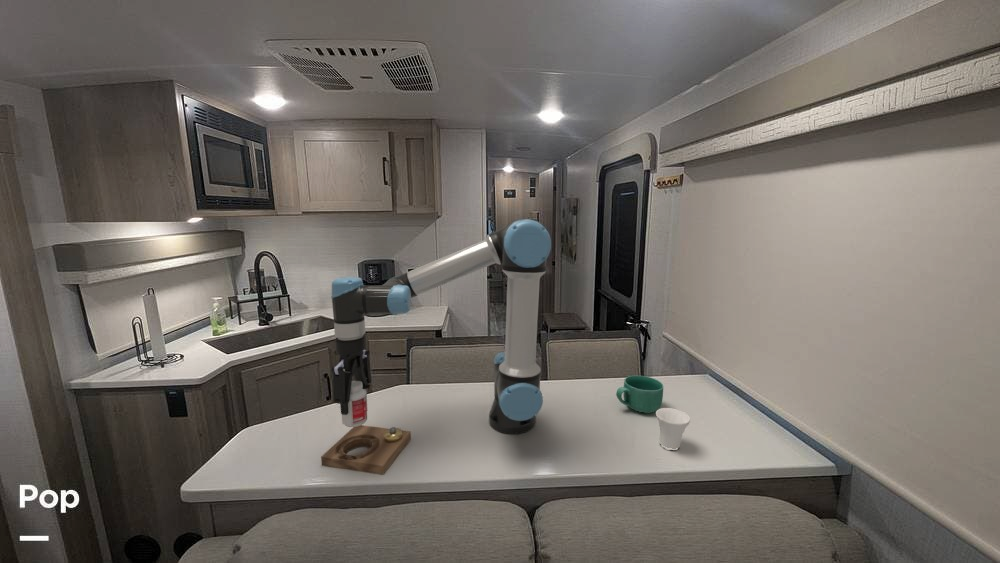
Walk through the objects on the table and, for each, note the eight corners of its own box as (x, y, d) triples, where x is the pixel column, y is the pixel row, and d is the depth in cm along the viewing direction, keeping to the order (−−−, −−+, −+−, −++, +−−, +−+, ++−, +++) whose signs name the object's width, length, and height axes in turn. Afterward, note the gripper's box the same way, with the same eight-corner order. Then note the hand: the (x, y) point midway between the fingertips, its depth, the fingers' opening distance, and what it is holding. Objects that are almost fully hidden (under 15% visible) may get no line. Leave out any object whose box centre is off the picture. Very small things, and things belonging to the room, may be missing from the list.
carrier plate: (410, 439, 110) (410, 431, 109) (383, 474, 94) (382, 465, 94) (356, 432, 113) (356, 424, 113) (321, 465, 98) (321, 456, 97)
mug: (647, 398, 135) (649, 373, 134) (669, 415, 123) (671, 388, 122) (606, 402, 132) (607, 377, 130) (624, 420, 120) (626, 393, 118)
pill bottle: (369, 423, 100) (367, 385, 98) (346, 430, 96) (343, 391, 95) (364, 413, 105) (362, 377, 103) (341, 420, 101) (338, 382, 100)
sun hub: (405, 433, 108) (404, 425, 108) (397, 443, 103) (396, 434, 103) (389, 431, 109) (389, 423, 109) (380, 441, 104) (380, 432, 104)
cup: (646, 442, 108) (648, 410, 107) (669, 434, 112) (671, 404, 110) (670, 459, 100) (673, 425, 98) (694, 451, 104) (697, 418, 102)
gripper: (358, 325, 107) (362, 399, 110) (312, 346, 88) (319, 435, 92) (382, 326, 105) (385, 402, 109) (340, 349, 87) (346, 438, 90)
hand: (355, 417), depth 100 cm, fingers closed on pill bottle, 6 cm apart
